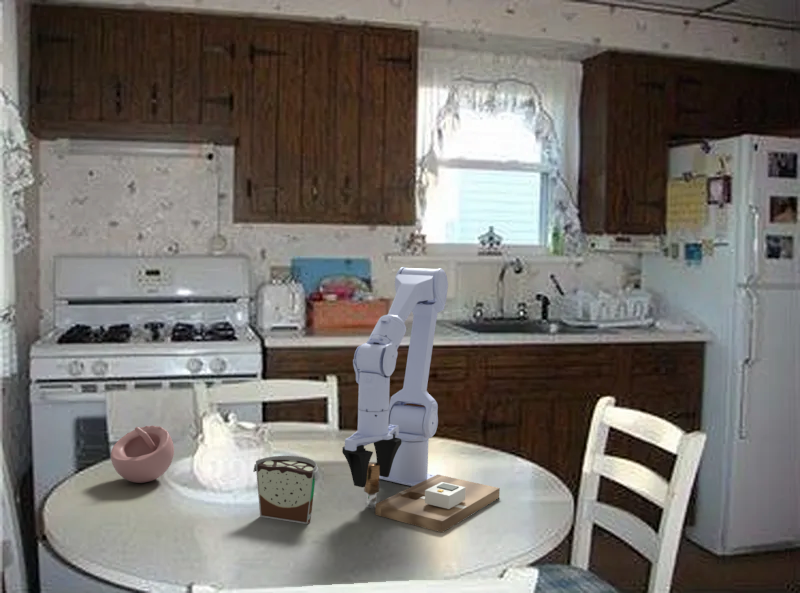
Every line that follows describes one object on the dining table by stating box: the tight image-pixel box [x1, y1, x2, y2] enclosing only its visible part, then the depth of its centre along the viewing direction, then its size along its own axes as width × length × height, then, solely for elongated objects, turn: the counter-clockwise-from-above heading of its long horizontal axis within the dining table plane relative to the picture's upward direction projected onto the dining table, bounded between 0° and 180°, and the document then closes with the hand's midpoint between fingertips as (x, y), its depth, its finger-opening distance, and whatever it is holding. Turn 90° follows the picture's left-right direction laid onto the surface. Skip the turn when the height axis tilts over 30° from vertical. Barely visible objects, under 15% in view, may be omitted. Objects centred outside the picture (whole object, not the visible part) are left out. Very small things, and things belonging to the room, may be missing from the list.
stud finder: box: [425, 482, 466, 509], centre depth 140 cm, size 5×6×3 cm
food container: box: [253, 455, 320, 525], centre depth 138 cm, size 12×6×10 cm, turn 71°
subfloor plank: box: [374, 474, 500, 533], centre depth 144 cm, size 14×22×2 cm, turn 147°
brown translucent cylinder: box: [363, 461, 381, 509], centre depth 143 cm, size 3×3×8 cm
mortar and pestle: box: [110, 425, 175, 484], centre depth 154 cm, size 12×12×12 cm
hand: (371, 480), depth 143 cm, fingers open, 7 cm apart
